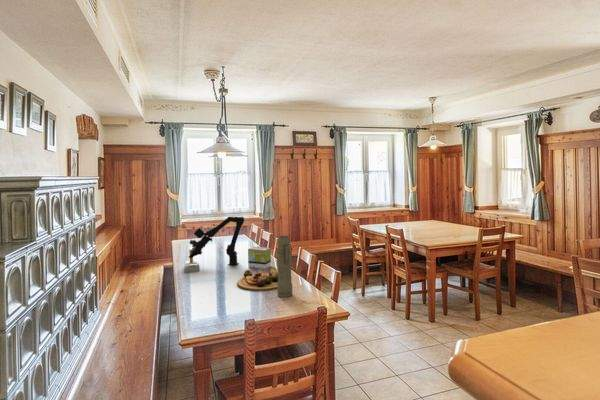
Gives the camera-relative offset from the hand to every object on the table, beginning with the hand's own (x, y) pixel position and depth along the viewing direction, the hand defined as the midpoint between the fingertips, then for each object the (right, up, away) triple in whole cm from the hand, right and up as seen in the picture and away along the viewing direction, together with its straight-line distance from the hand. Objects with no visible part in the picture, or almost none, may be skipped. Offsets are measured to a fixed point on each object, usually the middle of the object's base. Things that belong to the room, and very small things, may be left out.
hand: (189, 257), depth 293 cm
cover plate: (+1, -5, +3) cm, 6 cm away
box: (+5, -8, -9) cm, 13 cm away
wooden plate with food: (+61, -10, -47) cm, 78 cm away
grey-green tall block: (+78, -11, -72) cm, 107 cm away
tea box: (+55, -7, -3) cm, 56 cm away
